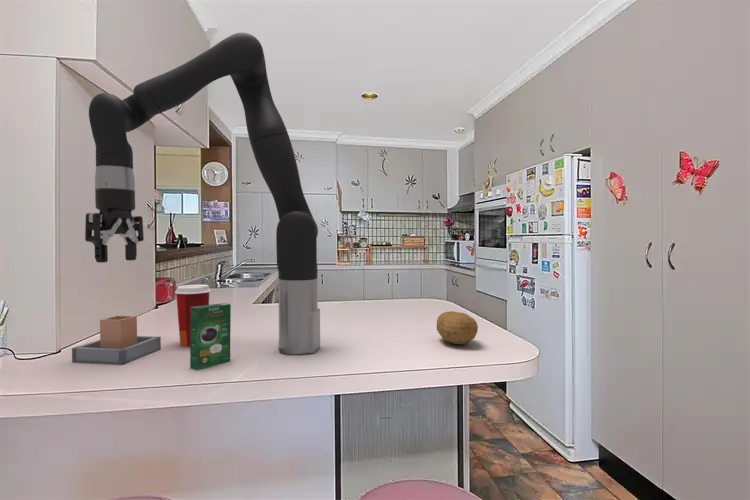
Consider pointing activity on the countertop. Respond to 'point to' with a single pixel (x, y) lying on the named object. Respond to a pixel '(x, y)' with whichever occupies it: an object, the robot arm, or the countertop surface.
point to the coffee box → (210, 335)
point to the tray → (115, 351)
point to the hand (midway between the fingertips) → (117, 261)
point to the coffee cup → (189, 307)
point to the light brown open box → (118, 332)
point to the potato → (456, 327)
